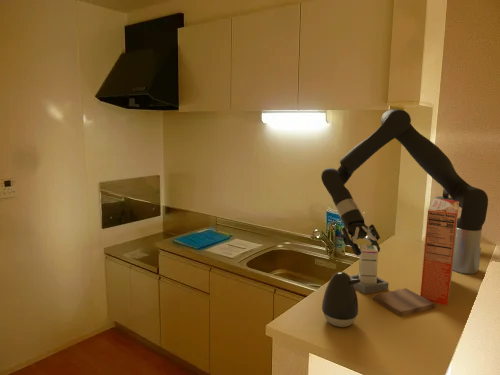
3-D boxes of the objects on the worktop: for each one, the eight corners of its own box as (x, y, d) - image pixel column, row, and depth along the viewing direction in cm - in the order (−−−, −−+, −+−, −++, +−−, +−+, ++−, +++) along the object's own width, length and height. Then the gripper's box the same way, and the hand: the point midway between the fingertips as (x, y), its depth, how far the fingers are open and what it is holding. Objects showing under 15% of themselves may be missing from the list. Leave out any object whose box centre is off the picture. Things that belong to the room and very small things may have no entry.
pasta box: (427, 275, 144) (434, 198, 139) (451, 280, 140) (459, 200, 135) (420, 299, 125) (427, 210, 120) (447, 305, 121) (456, 213, 116)
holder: (368, 278, 141) (369, 272, 141) (388, 289, 132) (388, 282, 132) (346, 282, 137) (346, 276, 137) (364, 294, 128) (365, 287, 128)
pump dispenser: (351, 335, 103) (355, 283, 100) (315, 325, 108) (318, 274, 106) (362, 319, 111) (365, 270, 109) (328, 310, 117) (330, 263, 114)
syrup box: (376, 290, 131) (379, 250, 129) (358, 288, 132) (361, 248, 130) (374, 283, 137) (377, 244, 134) (357, 282, 138) (359, 243, 135)
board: (405, 292, 130) (405, 288, 130) (434, 307, 119) (435, 303, 119) (373, 299, 124) (373, 295, 124) (400, 316, 114) (400, 311, 113)
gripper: (338, 210, 136) (357, 250, 127) (370, 206, 141) (390, 245, 133) (329, 220, 141) (346, 260, 133) (360, 217, 147) (379, 255, 138)
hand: (368, 253), depth 133 cm, fingers closed on syrup box, 7 cm apart
